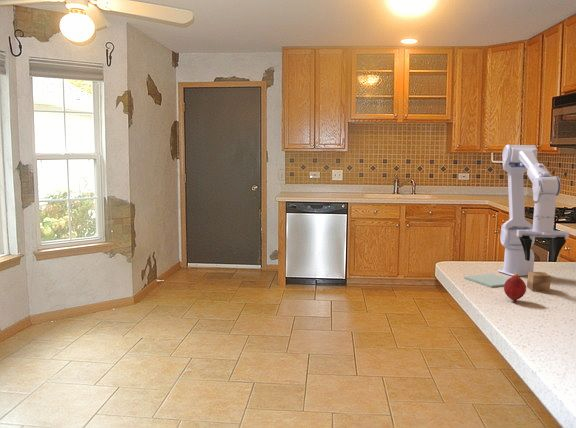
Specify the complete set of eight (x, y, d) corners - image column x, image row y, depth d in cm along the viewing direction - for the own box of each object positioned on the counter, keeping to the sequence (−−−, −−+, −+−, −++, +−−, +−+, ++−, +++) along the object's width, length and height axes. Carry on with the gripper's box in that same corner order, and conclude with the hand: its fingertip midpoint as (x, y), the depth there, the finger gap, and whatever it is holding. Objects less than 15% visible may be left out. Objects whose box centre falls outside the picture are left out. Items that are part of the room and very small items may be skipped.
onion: (527, 304, 149) (529, 276, 148) (505, 303, 150) (507, 275, 149) (522, 298, 155) (524, 271, 154) (501, 297, 156) (503, 270, 155)
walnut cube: (532, 291, 163) (533, 275, 163) (526, 287, 168) (528, 271, 168) (549, 292, 163) (550, 276, 162) (543, 287, 168) (544, 272, 167)
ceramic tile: (492, 275, 182) (492, 273, 182) (520, 284, 171) (520, 282, 171) (464, 278, 177) (464, 276, 177) (491, 287, 166) (491, 285, 166)
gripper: (523, 217, 159) (519, 262, 161) (574, 219, 158) (570, 264, 160) (515, 214, 166) (512, 257, 168) (565, 216, 165) (561, 259, 166)
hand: (540, 260), depth 164 cm, fingers open, 7 cm apart
